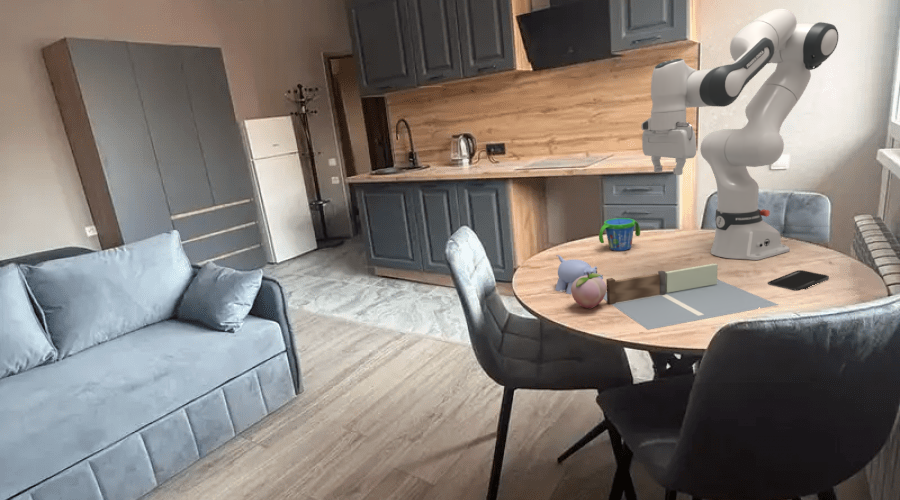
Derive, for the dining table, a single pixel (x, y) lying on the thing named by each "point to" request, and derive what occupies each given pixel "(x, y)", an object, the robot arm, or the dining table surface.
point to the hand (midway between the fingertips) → (667, 173)
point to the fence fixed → (635, 287)
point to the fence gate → (691, 277)
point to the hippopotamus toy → (572, 273)
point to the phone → (798, 280)
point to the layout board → (690, 305)
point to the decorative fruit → (588, 290)
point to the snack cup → (619, 233)
